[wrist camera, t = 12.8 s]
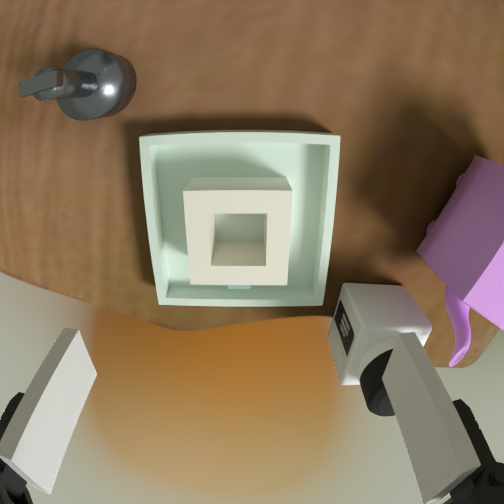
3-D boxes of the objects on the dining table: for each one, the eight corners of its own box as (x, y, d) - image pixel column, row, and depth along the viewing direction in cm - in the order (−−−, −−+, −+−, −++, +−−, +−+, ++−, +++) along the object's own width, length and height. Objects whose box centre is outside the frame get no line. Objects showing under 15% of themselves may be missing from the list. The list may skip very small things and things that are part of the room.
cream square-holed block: (193, 177, 27) (183, 190, 23) (286, 177, 27) (292, 190, 23) (199, 270, 31) (192, 296, 27) (281, 270, 31) (286, 296, 27)
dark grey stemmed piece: (78, 61, 22) (5, 53, 12) (136, 49, 22) (77, 26, 12) (79, 121, 25) (6, 138, 15) (137, 112, 25) (77, 122, 15)
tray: (148, 133, 26) (139, 137, 23) (332, 132, 26) (340, 136, 24) (164, 290, 33) (159, 304, 30) (317, 291, 33) (322, 305, 31)
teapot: (476, 133, 25) (563, 161, 14) (519, 184, 27) (592, 225, 16) (378, 285, 33) (425, 367, 22) (433, 314, 35) (479, 385, 24)
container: (326, 337, 36) (350, 429, 24) (342, 281, 32) (381, 372, 21) (384, 337, 36) (421, 419, 24) (404, 284, 33) (458, 364, 21)
